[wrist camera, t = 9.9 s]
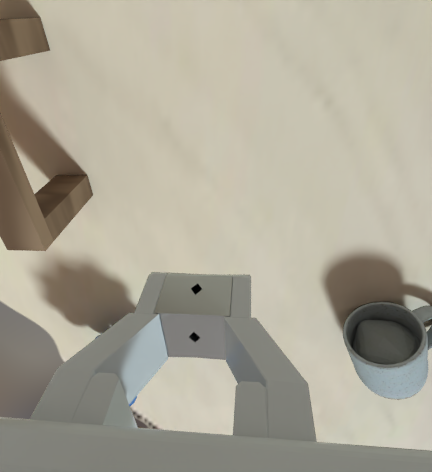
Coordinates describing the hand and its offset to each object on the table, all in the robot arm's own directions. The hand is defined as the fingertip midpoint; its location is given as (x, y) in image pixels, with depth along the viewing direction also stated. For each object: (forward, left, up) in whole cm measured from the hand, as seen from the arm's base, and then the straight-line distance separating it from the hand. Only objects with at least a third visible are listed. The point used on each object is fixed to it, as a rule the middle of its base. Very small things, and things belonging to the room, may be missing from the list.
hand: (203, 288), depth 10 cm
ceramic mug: (+23, +18, -19) cm, 35 cm away
